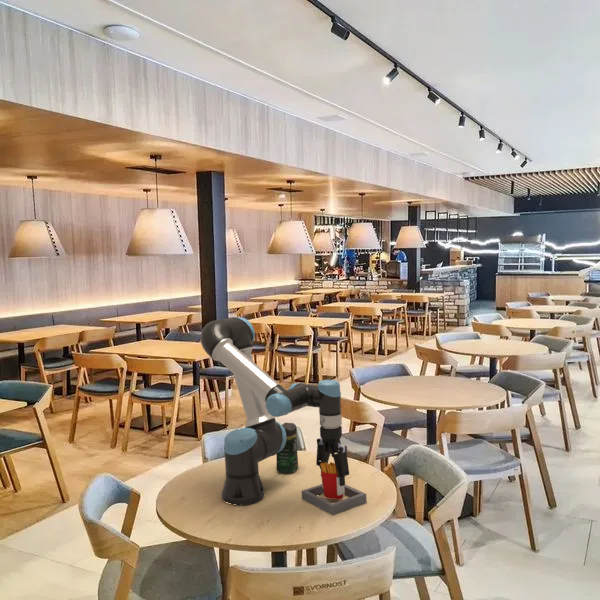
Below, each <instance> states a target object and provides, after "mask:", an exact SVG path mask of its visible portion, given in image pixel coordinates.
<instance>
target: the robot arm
mask: <svg viewBox="0 0 600 600" xmlns="http://www.w3.org/2000/svg"><path fill="white" fill-rule="evenodd" d="M255 337H256V331H255V328H254V326H253V324H252V322H250V321H249V319H247V318H245V317H241V316H238V317H236V316H232V317H228V318H224V319H223V318H222V319H216V320H211V321H209V322H208V323H207V324H206V325H204V327H203V328H202V330H201V333H200V344H201V346H202V349H203V350H204V352H205V353H206V355H208V356H209V357H210V358H211V359H212V360H213V361H215V362H218V361H219V362H220V363H221V364H222V365H223V366H225V367H226V369H227V370H229V371H230V372H231V373H232V374H233V376H234V377H233V378H234V380H235V384H236V387H237V390H238V391H237V392H238V393H239V398H240V400H241V404H242V408H243V411H244V413H245V418H246V419H247V420H246V423H245V425H244V427H242V428H240V429H239V428H238V429H234V430H232V431H230V432H228V433H227V434H226V435H225V436H224V441H223V442H224V443H223V444H224V445H223V451H224V464H225V466H224V467H225V468H224V469H225V480H224V482H223V488H222V492H221V500H222V499H223V500H224V501H225V502H228V503H231V504H236V505H235V506H248V505H252V504H256V503H259V502H260V501H262V500H263V499H264V498H265V487H264V484H263V482H262V480H261V476H260V473H259V463H260V462H262V461H264V460H266V459H268V458H270V457H272V456H276V454H277V453H278V452H280V451H281V450H282V449H283V448H284V446H285V444H286V432H285V429H284V427H283V426H282V424H281V422H279V421H277V420H276V418H279V417H284V416H286V415H288V414H290V413H293V412H295V411H298V410H300V409H303V408H306V407H312V408H318V413H319V414H318V415H319V425H320V427H319V436H320V437H319V438H316V444H317V446H316V448H317V449H316V464H315V465H316V466H317V467H319V469H320V472H321V471H322V469H321V465H320V464H321V463H325V462H327V464H329V462H330V461H329V460H330V456H331V457H332V459H333V461H334V462H333V463H334V464H335V466H336V469H337V473H338V476H337V495H338V496H339V495H342V494H345V487H344V485H346V476H350V469H349V468H350V467H349V462H348V461H349V460H348V453H347V452H348V447H347V445H342V443H341V438H342V437H343V426H342V424H343V419H342V407H341V406H342V405H341V402H342V401H341V399H342V396H341V395H342V393H341V385H340V382H339V381H338V380H336V379H323V380H320V381H319V382H318V384H317V385H316V384H308V383H303V382H300V383H299V382H297V383H296V382H295V383H292V384H291V385H290V387H288V389H286V388H284V386H282V385H281V384H280V383H279V382H277V381H276V380H275V379H274V378H273V377H271V376H270V375H269V374H268V373H267V372H266V371H265V370H263V369H262V367H260V366H259V365H258V364H256V363H255V362H254V360H253V356H252V351H253V349H254V346H253V342H254V341H255ZM320 477H321V478H322V474H321V473H320ZM321 484H322V488H323V481H322V480H321ZM263 497H264V498H263ZM223 500H222V501H223ZM224 501H223V502H224ZM225 502H224V503H225Z"/></svg>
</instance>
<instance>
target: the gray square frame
mask: <svg viewBox="0 0 600 600" xmlns="http://www.w3.org/2000/svg"><path fill="white" fill-rule="evenodd" d="M344 487H345V494H344V495H343V496H347V498H344V499H340V500H339V501H336V502H334V503H333V502H330V501H329V500H327V499H324V498H322V497H321V494H322V495H324V494H323V493H324V489H323V488H322V483H321V484H318V485H314V486H312V487H309V488H306V489H303V490H301V500H302V499H303V501H304V500H305V502H306V503H308V504H310V505H312V506H314V507H315V508H318V509H320V510H321V511H323V512H325V513H327V514H329V515H331V516H335V515H337V514H340V513H342V512H344V511H348V510H350V509H353V508H356V507H359V506H361V505H364V504H366V503H367V493H365V492H363V491H361V490H358V489H356V488H355V487H351V486H350V485H347V484H345V485H344ZM317 495H319V496H317ZM363 503H364V504H363Z"/></svg>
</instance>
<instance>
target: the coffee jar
mask: <svg viewBox="0 0 600 600" xmlns="http://www.w3.org/2000/svg"><path fill="white" fill-rule="evenodd" d="M281 425H282V426H283V427H284V429H285V432H286V444H285V446H284V448H283V449H282V450H281V451H280V452H278V453H277V454H276V455H275V456H276V472H277V473H280V474H285V475H286V474H293V473H294V472H296V471H297V469H298V467H299V458H298V441H297V439H298V438H297V437H298V429H297V425H296V424H295V423H293V422H284V423H282V424H281Z"/></svg>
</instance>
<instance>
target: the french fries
mask: <svg viewBox="0 0 600 600" xmlns="http://www.w3.org/2000/svg"><path fill="white" fill-rule="evenodd" d="M320 465H321V469H322V471H321V469H320V475H321V474H322V477H321V482H322V481H323V489H324V494H323V496H324V498H326V499H329V500H330V499H331V500H332V499H333V500H343V498H344V496H345V495H344V494H342V495H339V496H338V495H337V476H338V473H337V469H336V466H335V462H332V461H331V462H330V461H329V462H328V464H327V462H325V463H321V464H320Z"/></svg>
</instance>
